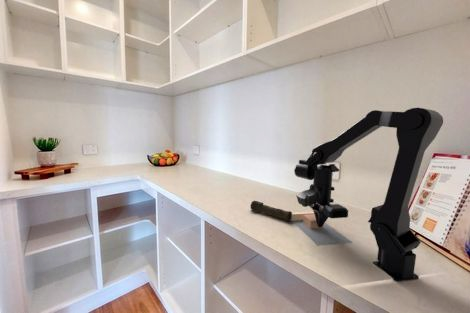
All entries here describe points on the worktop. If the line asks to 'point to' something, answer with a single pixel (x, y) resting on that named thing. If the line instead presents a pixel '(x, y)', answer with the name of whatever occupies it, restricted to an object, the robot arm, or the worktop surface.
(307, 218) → the salmon brown block
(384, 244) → the robot arm
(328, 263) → the worktop surface
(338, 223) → the worktop surface
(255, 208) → the hand tool
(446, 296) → the worktop surface
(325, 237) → the slate mat
